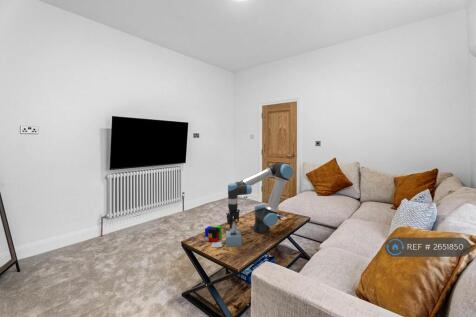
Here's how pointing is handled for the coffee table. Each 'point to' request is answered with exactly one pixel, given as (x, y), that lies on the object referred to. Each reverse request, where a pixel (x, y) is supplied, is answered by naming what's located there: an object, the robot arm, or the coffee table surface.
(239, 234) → the block
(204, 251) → the coffee table surface
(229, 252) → the coffee table surface
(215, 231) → the puzzle toy
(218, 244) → the tool mat
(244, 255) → the coffee table surface
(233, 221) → the chuck key
